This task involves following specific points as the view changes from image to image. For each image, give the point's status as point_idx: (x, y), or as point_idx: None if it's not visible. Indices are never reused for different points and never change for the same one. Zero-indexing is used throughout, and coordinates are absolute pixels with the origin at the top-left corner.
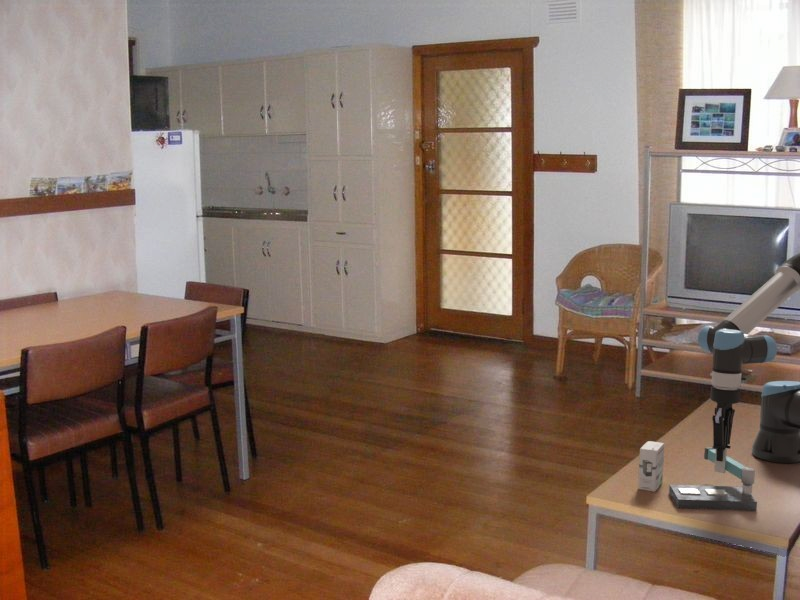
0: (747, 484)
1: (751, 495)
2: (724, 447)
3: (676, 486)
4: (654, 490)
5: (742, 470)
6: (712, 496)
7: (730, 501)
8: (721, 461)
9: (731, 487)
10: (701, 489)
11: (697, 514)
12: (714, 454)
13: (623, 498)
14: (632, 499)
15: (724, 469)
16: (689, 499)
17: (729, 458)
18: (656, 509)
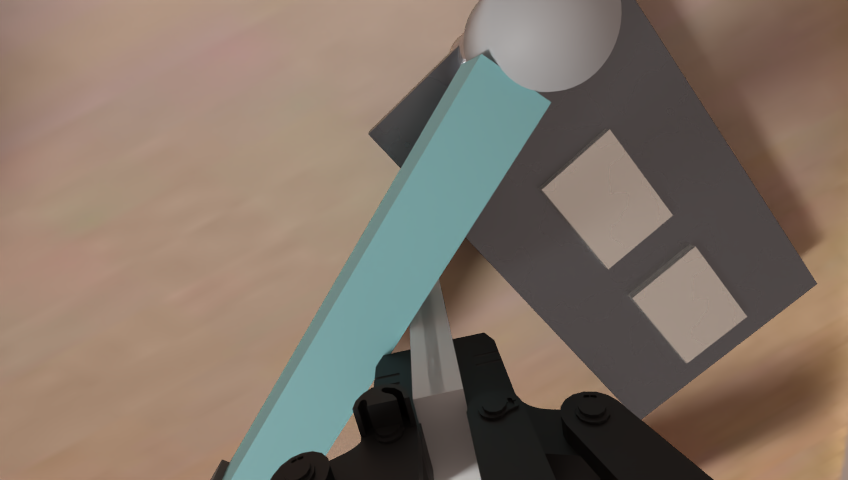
0: None
1: None
2: (518, 411)
3: (642, 388)
4: None
5: (596, 69)
6: (671, 185)
7: (677, 69)
8: (485, 334)
9: None
10: (602, 285)
11: (794, 164)
12: None
13: (782, 462)
14: (773, 438)
15: (440, 288)
16: (789, 246)
17: (334, 338)
18: (830, 319)
